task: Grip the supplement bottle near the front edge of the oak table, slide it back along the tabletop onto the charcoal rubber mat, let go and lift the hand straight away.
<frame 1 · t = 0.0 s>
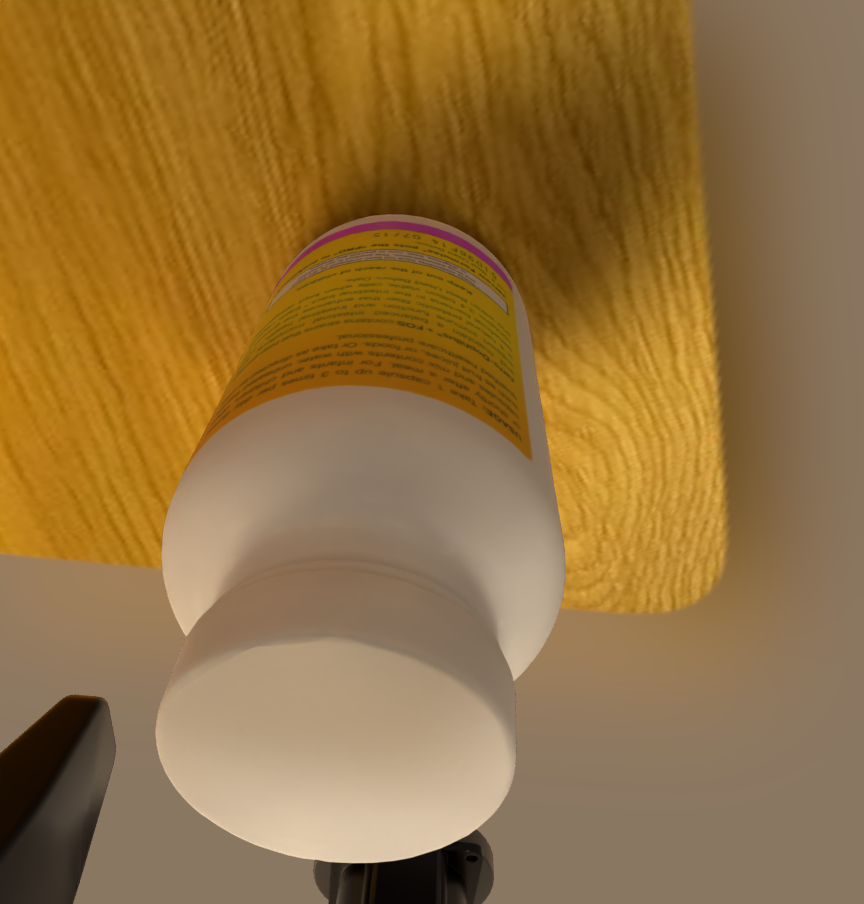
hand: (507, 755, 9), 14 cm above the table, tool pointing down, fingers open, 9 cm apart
supplement bottle: (400, 331, 21), on the table
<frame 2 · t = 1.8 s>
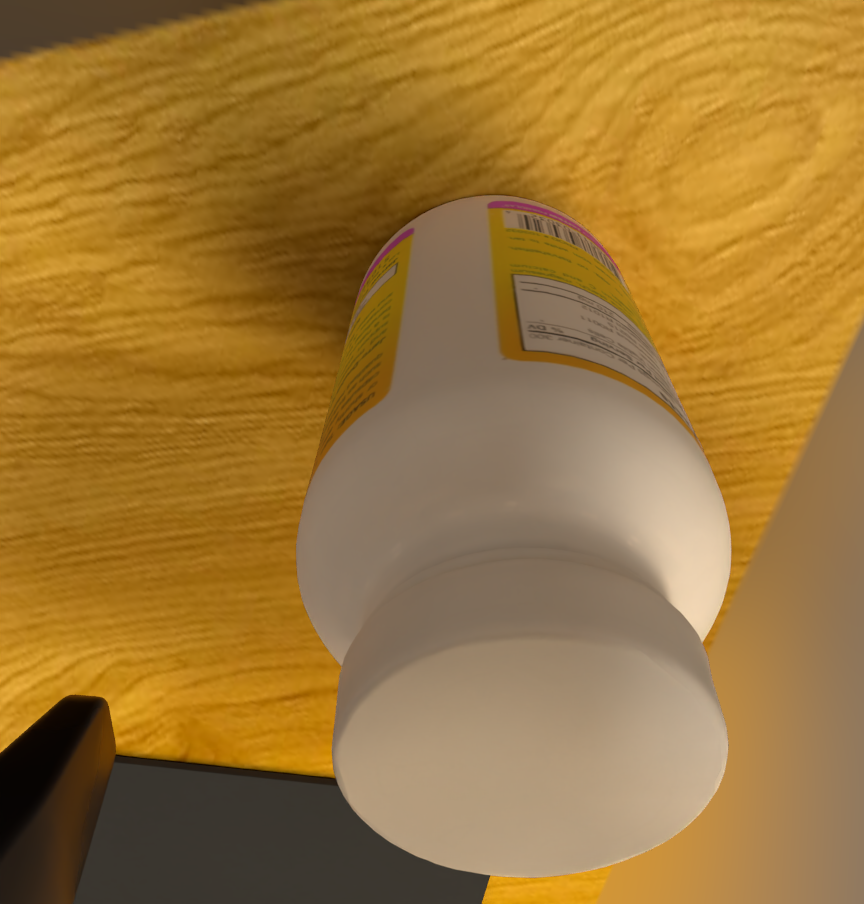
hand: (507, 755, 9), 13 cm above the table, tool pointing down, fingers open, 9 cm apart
supplement bottle: (490, 318, 21), on the table
mat: (267, 900, 35), on the table
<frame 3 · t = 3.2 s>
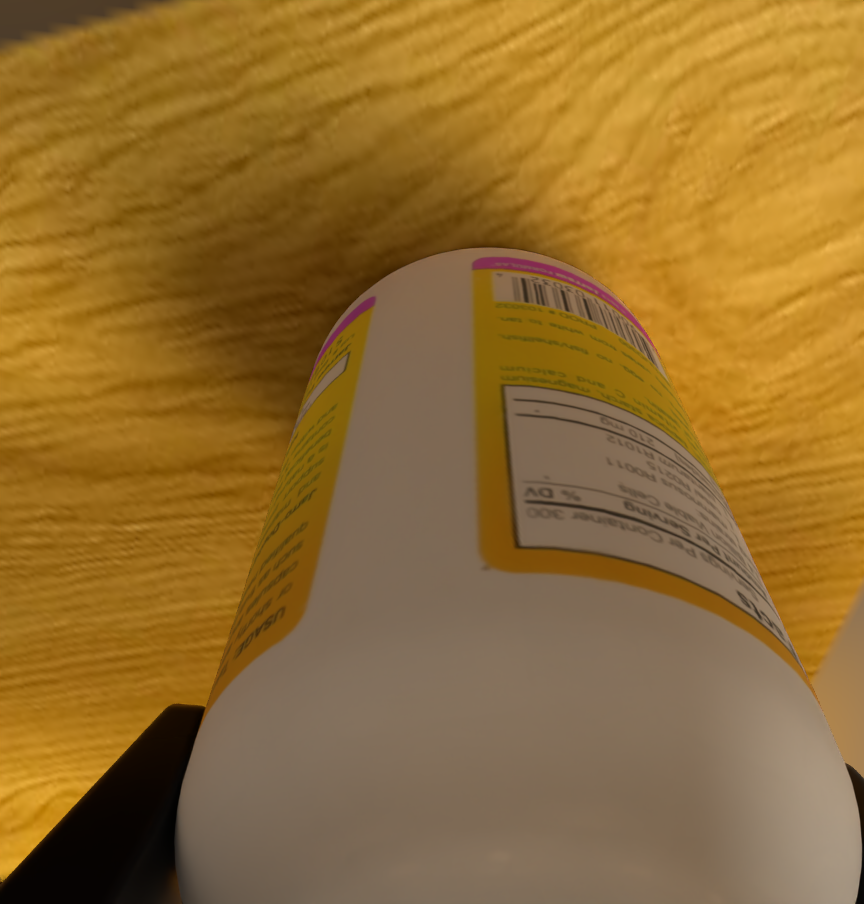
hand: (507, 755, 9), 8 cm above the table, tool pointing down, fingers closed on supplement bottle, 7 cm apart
supplement bottle: (485, 396, 16), on the table, touching gripper
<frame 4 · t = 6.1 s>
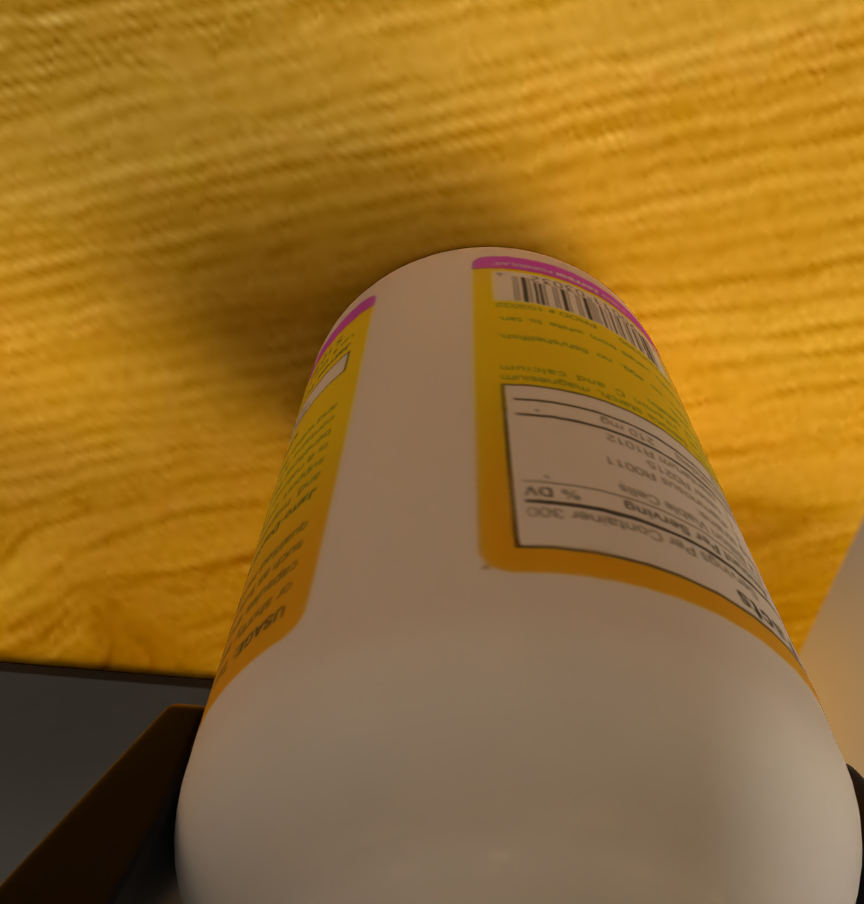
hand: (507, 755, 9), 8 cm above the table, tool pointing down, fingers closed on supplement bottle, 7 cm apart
supplement bottle: (485, 396, 16), on the table, touching gripper
mat: (247, 874, 26), on the table
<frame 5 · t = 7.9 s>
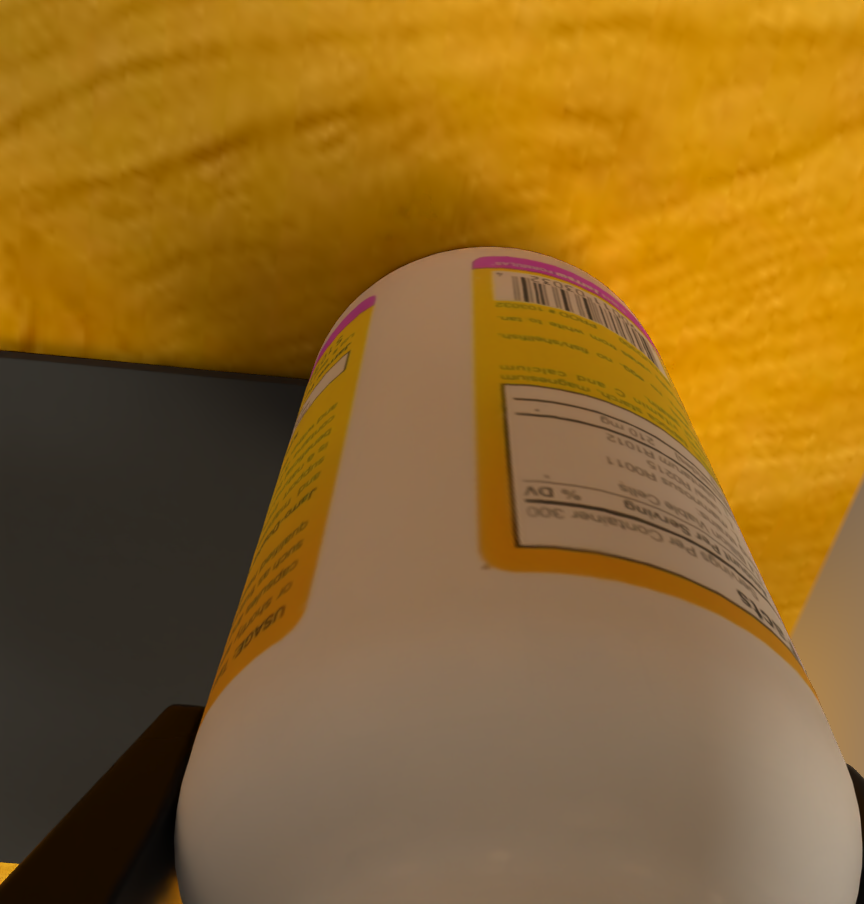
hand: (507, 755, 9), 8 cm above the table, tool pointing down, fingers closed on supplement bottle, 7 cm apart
supplement bottle: (485, 396, 16), on the table, touching gripper
mat: (219, 678, 21), on the table
when the fingers open (8 cm above the table, at t = 9.0 s): supplement bottle stays where it is, resting on mat.
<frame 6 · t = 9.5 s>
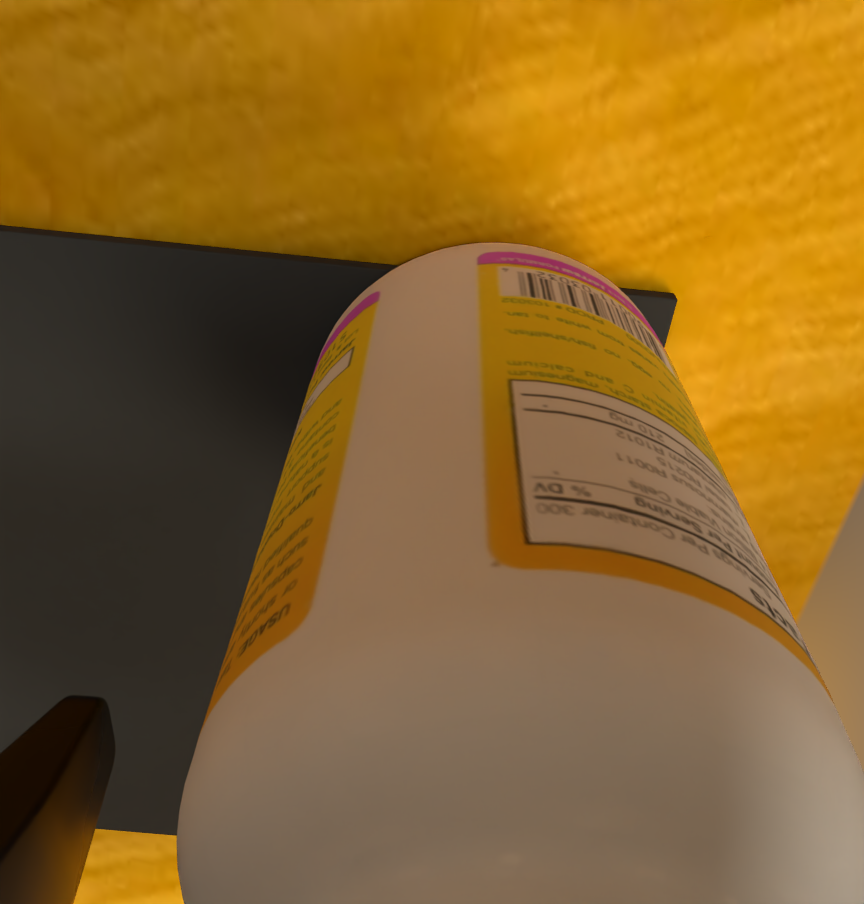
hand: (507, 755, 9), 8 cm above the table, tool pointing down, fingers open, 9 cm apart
supplement bottle: (489, 393, 16), resting on mat
mat: (204, 610, 20), on the table
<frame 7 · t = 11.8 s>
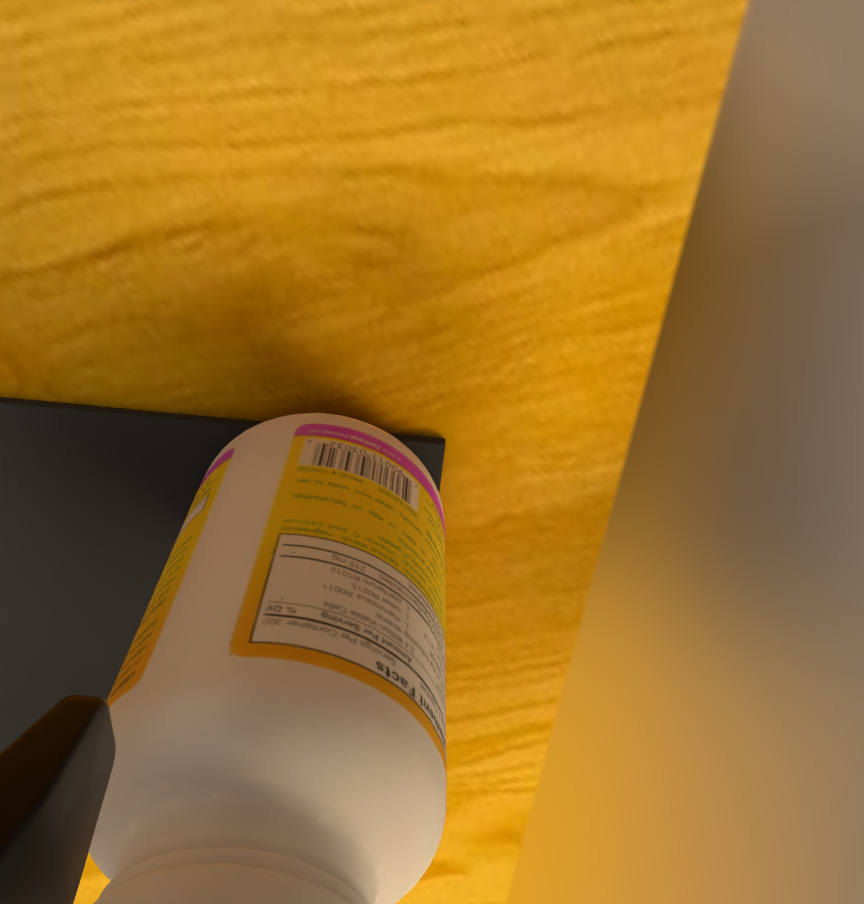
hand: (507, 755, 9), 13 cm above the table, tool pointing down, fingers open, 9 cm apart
supplement bottle: (327, 502, 23), resting on mat
mat: (136, 650, 26), on the table
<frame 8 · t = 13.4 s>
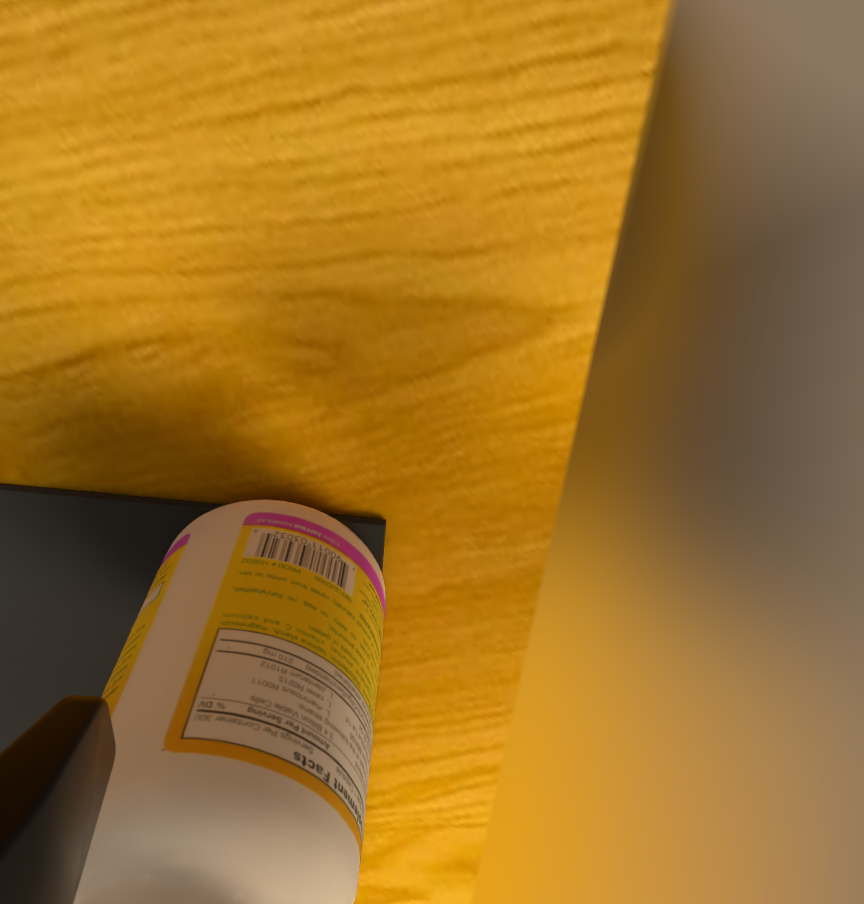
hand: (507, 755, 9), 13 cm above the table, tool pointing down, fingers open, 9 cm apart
supplement bottle: (281, 573, 25), resting on mat
mat: (112, 699, 29), on the table
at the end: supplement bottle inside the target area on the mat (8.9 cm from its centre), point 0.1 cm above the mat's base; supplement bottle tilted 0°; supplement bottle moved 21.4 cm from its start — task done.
